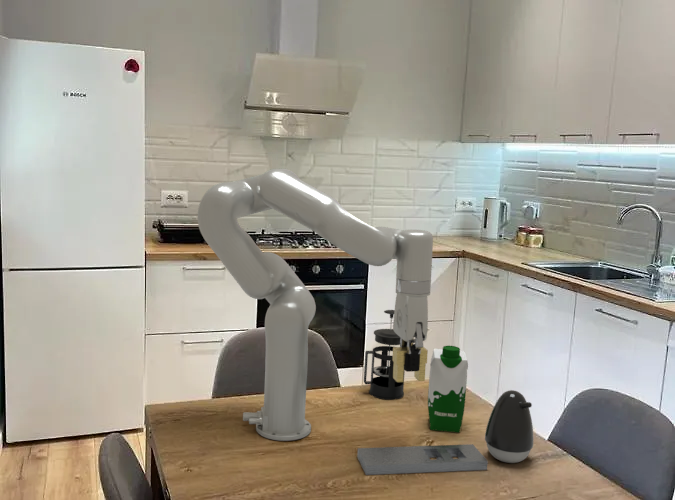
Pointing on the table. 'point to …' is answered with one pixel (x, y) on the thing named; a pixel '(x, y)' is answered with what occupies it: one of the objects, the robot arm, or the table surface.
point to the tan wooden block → (400, 361)
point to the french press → (384, 366)
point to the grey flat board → (420, 459)
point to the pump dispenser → (510, 428)
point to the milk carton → (447, 389)
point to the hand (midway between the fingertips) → (409, 367)
